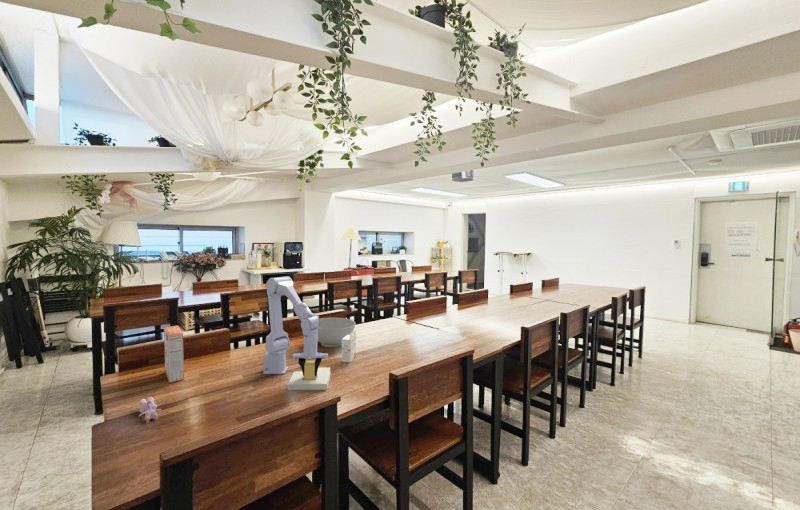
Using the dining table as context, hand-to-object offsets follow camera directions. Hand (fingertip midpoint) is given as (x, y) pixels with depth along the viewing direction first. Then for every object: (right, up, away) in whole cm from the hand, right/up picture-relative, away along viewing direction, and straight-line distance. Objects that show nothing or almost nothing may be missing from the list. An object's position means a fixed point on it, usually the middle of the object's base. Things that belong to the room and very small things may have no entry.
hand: (310, 375), depth 149 cm
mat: (+2, -3, +12) cm, 13 cm away
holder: (0, -4, 0) cm, 3 cm away
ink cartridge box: (+12, -2, +29) cm, 32 cm away
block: (0, -3, 0) cm, 3 cm away
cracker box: (-61, -2, +3) cm, 61 cm away
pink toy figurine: (-49, -4, -28) cm, 57 cm away
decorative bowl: (-1, 0, +53) cm, 53 cm away
